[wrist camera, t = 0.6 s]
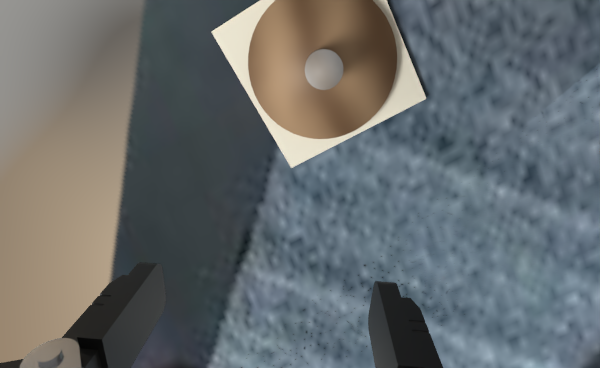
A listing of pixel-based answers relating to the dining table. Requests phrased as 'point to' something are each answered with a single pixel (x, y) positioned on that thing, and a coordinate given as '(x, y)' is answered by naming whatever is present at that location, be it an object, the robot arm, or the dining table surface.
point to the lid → (322, 65)
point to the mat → (295, 147)
